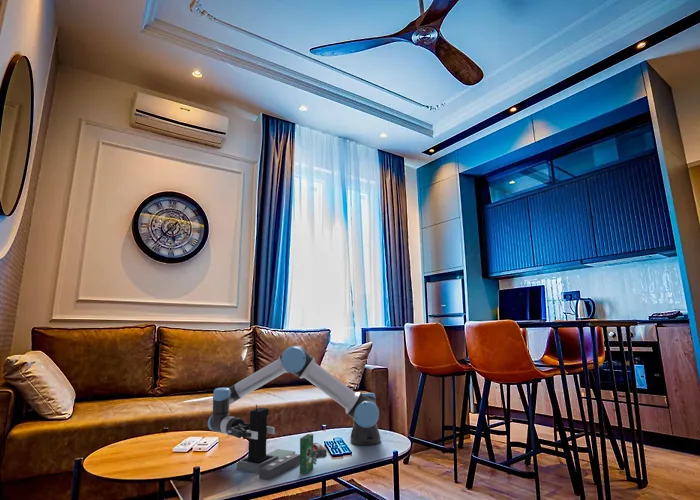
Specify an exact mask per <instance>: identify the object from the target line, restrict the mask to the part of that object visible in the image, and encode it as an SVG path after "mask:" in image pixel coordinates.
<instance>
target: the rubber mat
mask: <svg viewBox="0 0 700 500" xmlns="http://www.w3.org/2000/svg"><path fill="white" fill-rule="evenodd" d="M290 453H293V454H296V451H294V450H293V451H292V450H287V449H279V448H278V449H275V450H273V451H270V452H269V453H268V452H267V454H268V455H274V456H278V459H280V458H282V457H284V456H286V455H288V454H290Z"/></svg>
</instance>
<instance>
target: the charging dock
mask: <svg viewBox="0 0 700 500" xmlns="http://www.w3.org/2000/svg"><path fill="white" fill-rule="evenodd" d="M266 456H267V457H268V460H266V461H264V462H262V463H260V464H257V463H252V462H248V456H246V457H243V458H244V459H243V458H241V459H242V460H241V459H240V460H241V461H239V462H238V463H237V462H236V470H239V471H244V472H249V473H256V474H258V475H259V477H258V479H262V480H266V481H271V480H273V479H274V478H276V477H278V476H280V475H283V473H285V472H287V471H289V470H291V469H293V468H295V467H296V466H298V465H300V453H299V454H298V453H294V454H293V453H290V454H288V455H286V456H284V457H282V458H280V459H278V456H274V455H268V453H266Z"/></svg>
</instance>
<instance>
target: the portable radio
mask: <svg viewBox="0 0 700 500" xmlns="http://www.w3.org/2000/svg"><path fill="white" fill-rule="evenodd" d="M255 406H256V407H255V409H252V410H250V412H249V423H250V427H249V430H250V431H255V432H258V439H257V440H256V439H251V438H248V447H247V448H248V450H249V453H247V454H248V455H247V457H248V462H252V463H257V464H260V463H262V462H264V461H266V460H268V457H267V456H266V454H267V433H266V430H267V424H268V422H267V420H268V418H267V417H268V416H269V411H270V410H269V408H267V407H258V404H255ZM248 450H247V451H248Z"/></svg>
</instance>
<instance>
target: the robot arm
mask: <svg viewBox="0 0 700 500" xmlns="http://www.w3.org/2000/svg"><path fill="white" fill-rule="evenodd" d="M315 360H316V358H315V357H314V356H312V355H311V354H310V353H308V351H307V349H305V348H304V347H303V346H301V345H292V346H289V347H287V348H286V349H285V350H284V351H283V352H282V354H281V355H279V356H278V358H277V359H276V360H274V361H273V362H270V363H269V364H267V365H265V366H264V367H261V368H260V369H258V370H257V371H255V372H254V373H252V374H250V375H248V376H247V377H245V378H243V379H242V380H239V381H238V382H237V383H235V384H233V385H231V386H230V387H217V388H214V390H213V395H212V414H211V415H210V416H209V418H208V420H207V427H208V429H209V430H211V431H213V432H215V433H220V434H225V435H227V436H231V437H235V438H238V439H242V440H246V438H248V439H249V438H251V439H256V440H257V439H258V432H255V431H250V422H245V421H244V420H243V418H240V417H237V416H232V415H231V416H230V406H231V404H234V403H235V402H237V401H239V400H240V399H242V398H243V397H245V396H246V395H249V394H250V393H252V392H254V391H256V390H257V389H259V388H261V387H263V386H264V385H266V384H268V383H270V382H271V381H273V380H274V379H276V378H277V377H279V376H281V375H283V374H285V373H287V374H289V373H291V374H293V375H294V376H296V377H298V379H306V381H308V382H310V383H311V385H314V386H315V387H316V388H317V389H319V390H320V391H321V392H323V393H324V394H325V395H326V396H328V397H329V398H331V399H332V400H333V401H335V402H336V403H338V405H340V406H341V407H343V409H345V413H346V415H348V417H350V418H352V419H353V424H352V429H351V432H350V433H351V434H350V436H349V437H350V438H349V439H350V443H351V444H353V445H357V446H373V445H377V444H379V443H381V435H380V430H379V428H378V424H377V422H378V421H379V418H380V409H379V407H378V405H377V402H376V400H377V397H376V394H375V393H374V392H361V391H358V392H355V391H354V390H353V389H351V388H350V387H348V385H346V384H345V383H343V381H340V379H338V378H336V376H334V375H333V374H331V373H330V372H329V371H327V370H326V369H324V367H322V366H321V365H319V364H318V363H316V361H315ZM275 429H276V428H275V427H274V426H269V424H268V423H267V430H266V434H267V435H269V434H270V435H275V431H276V430H275Z"/></svg>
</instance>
